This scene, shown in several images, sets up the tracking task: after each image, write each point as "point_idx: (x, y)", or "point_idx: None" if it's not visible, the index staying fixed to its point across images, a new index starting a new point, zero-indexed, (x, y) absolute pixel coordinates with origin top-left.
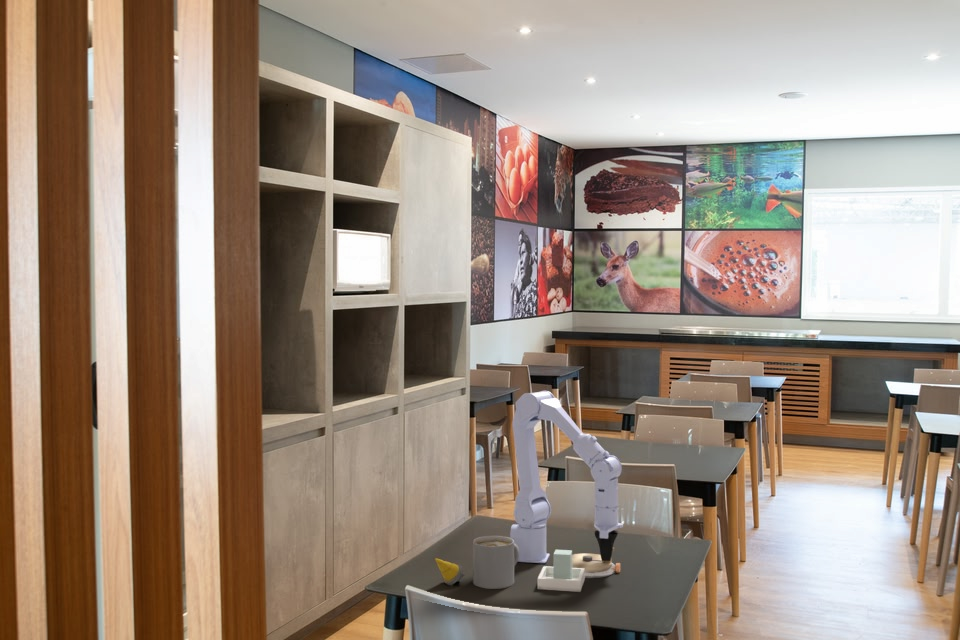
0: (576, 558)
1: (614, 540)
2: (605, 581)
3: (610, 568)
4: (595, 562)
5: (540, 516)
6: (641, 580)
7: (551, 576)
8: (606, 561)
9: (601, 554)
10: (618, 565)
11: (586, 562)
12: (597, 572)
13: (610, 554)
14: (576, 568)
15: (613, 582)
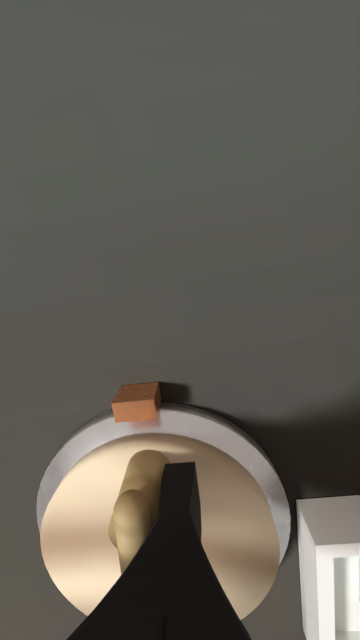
0: None
1: (226, 599)
2: (310, 417)
3: (169, 431)
4: None
5: None
6: (249, 261)
7: (336, 615)
8: None
9: (199, 538)
10: (155, 405)
11: None
12: (255, 473)
13: (192, 492)
14: (325, 577)
15: (317, 383)
